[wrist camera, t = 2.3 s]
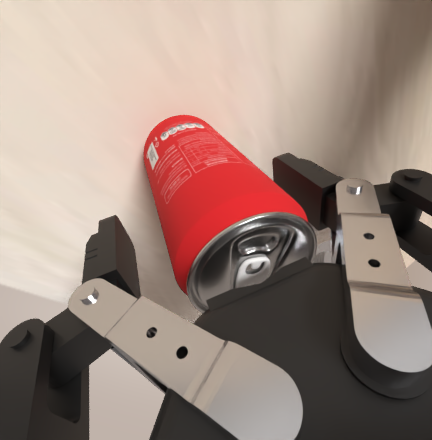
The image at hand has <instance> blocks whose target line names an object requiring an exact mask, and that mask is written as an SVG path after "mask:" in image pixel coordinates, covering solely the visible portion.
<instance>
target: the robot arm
mask: <svg viewBox="0 0 432 440" xmlns="http://www.w3.org/2000/svg"><path fill="white" fill-rule="evenodd" d="M273 177H274V182H275V183H276V184H277V185H278V186H279V187H280V188H282V189H283V190H284V191H285V192H286V193H287V194H288V195H290V196H291V197H292V198H293V199H294V200H295V201H296V202H297V203H298V204H299V205H300V206H301V207H302V208H303V210H304V212H305V214H306V216H307V219H308V222H309V223H310V224H311V225H312V226H313V227H315V228H316V229H317V230H318V231H321V230H323V229H325V228H328V227H329V228H330V229H331V231H330V247H331V263H311V262H310V261H309V260H308V259H307V258H306V257H304V258H301V259H299V260H297V261H295V262H292V263H290V264H288V265H285V266H283V267H281V268H280V269H279V270H278V271H276V272H275V273H274V274H272V275H271V276H270V277H269V278H267V279H266V280H265V281H263V282H262V283H260V284H255V285H250V286H245V287H240V288H235V289H231V290H228V291H226V292H224V293H222V294H219V295H217V296H215V297H212V298H210V299H208V300H206V302H207V305H208V307H209V309H208V310H206V311H205V312H204V313H203V314H202V315H201V316H200V317H199V318H198V319H197V320H196V321H195V323H194V324H193V323H191V322H189V321H187V320H185V319H184V318H182V317H180V316H178V315H177V314H175V313H173V312H171V311H169V310H168V309H166V308H164V307H162V306H160V305H159V304H157V303H155V302H153V301H152V300H150V299H148V298H146V297H144V296H141V294H140V286H139V278H138V271H137V263H136V255H135V249H134V246H133V243H132V241H131V239H130V237H129V236H128V234H127V232H126V230H125V229H124V227H123V225H122V223H121V222H120V220H119V218H118V217H117V216H116V215H114V216H111V217H108V218H106V219H103V220H100V221H99V228H98V233H96V234H94V235H92V236H91V237H90V239H89V241H88V242H87V244H86V251H85V253H86V254H85V261H84V270H83V279H82V285H81V286H79V287H78V288H77V289H76V290H75V291H74V292H73V294H72V295H71V297H70V299H69V302H68V308H67V309H66V310H64V311H63V312H61V313H60V314H59V315H57V316H55V317H54V318H52V319H51V320H49V321H48V322H46V323H44V322H43V321H41V320H40V319H30V320H27V321H24V322H23V323H21V324H19V325H17V326H16V327H15V328H13V330H11V331H10V332H9V333H8V334H7V335H6V336H5V338H4V339H3V340H2V342H1V343H0V440H89V365H90V364H91V363H92V362H94V361H95V360H96V359H98V358H99V357H100V356H101V355H102V354H104V353H105V352H106V351H107V350H109V349H111V350H113V351H114V352H115V353H116V354H118V355H119V356H120V357H121V358H123V359H124V360H125V361H126V362H128V363H129V364H130V365H131V366H132V367H134V368H135V369H136V370H138V371H139V372H140V373H141V374H142V375H143V376H144V377H146V378H147V379H148V380H149V381H150V382H151V383H153V384H154V385H155V386H156V387H157V388H158V389H160V390H161V391H162V392H163V393H164V394H165V397H164V400H163V403H162V405H161V408H160V411H159V414H158V416H157V419H156V422H155V425H154V428H153V431H152V433H151V436H150V439H149V440H432V292H430V291H427V290H424V289H420V288H417V287H414V286H411V283H410V280H409V276H408V273H407V270H406V267H405V263H404V260H403V257H402V254H401V250H400V248H401V249H402V250H404V251H405V252H406V253H407V254H409V255H410V256H411V257H413V258H414V259H415V260H417V261H418V262H419V263H421V264H422V265H423V266H424V267H426V268H427V269H428V270H430V271H431V272H432V229H431V228H430V227H428V226H427V225H425V224H423V223H422V222H420V221H419V219H420V216H421V214H422V211H424V212H425V213H427V214H429V215H431V216H432V174H429V173H427V172H424V171H421V170H415V169H404V170H399V171H396V172H395V173H393V174H392V177H391V181H390V183H386V184H380V185H374V186H373V185H372V184H371V183H370V182H368V181H366V180H363V179H357V178H349V179H344V180H343V179H341V178H339V177H337V176H336V175H334V174H332V173H331V172H329V171H327V170H324V168H322V167H320V166H318V165H317V164H315V163H313V162H312V161H309V160H305V159H301V158H300V159H299V158H297V157H295V156H294V155H292V154H290V153H286V154H283V155H280V156H277V157H275V158H274V159H273Z"/></svg>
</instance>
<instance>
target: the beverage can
mask: <svg viewBox="0 0 432 440" xmlns="http://www.w3.org/2000/svg"><path fill="white" fill-rule="evenodd" d="M144 163H145V167H146V170H147V174H148V178H149V182H150V185H151V189H152V193H153V197H154V200H155V204H156V208H157V212H158V215H159V219H160V223H161V226H162V230H163V234H164V238H165V241H166V245H167V249H168V253H169V256H170V260H171V264H172V268H173V271H174V275H175V279H176V281H177V283H178V285H179V287H180V288H181V290H182V291H183V292H184V293H185V294H186V295H187V296H188V297H189V299H190V301H191V303H192V304H193V306H194V307H195V308H196V309H197V310H199V311H200V312H202V313H204V312H205V311H206V310H208V309H209V307H208V305H207V302H206V300H208V299H210V298H212V297H215V296H217V295H219V294H222V293H224V292H226V291H228V290H231V289H235V288H240V287H245V286H250V285H255V284H260V283H262V282H263V281H265V280H266V279H267V278H269V277H270V276H271V275H272V274H274V273H275V272H276V271H278V270H279V269H280V268H281V267H283V266H285V265H288V264H290V263H292V262H295V261H297V260H299V259H301V258H304V257H306V258H307V259H308V260H309V261H310V262H311V263H313V261H314V258H315V255H316V251H317V238H316V234H315V232H314V230H313V228H312V227H311V225H310V224H309V223H308V219H307V216H306V214H305V212H304V210H303V208H302V207H301V206H300V205H299V204H298V203H297V202H296V201H295V200H294V199H293V198H292V197H291V196H290V195H288V194H287V193H286V192H285V191H284V190H283V189H282V188H280V187H279V186H278V185H277V184H276V183H275V182H274V181H272V180H271V179H270V178H269V177H268V176H267V175H266V174H264V173H263V172H262V171H261V170H260V169H259V168H258V167H257V166H255V165H254V164H253V163H252V162H251V161H250V160H249V159H247V158H246V157H245V156H244V155H243V154H242V153H241V152H239V151H238V150H237V149H236V148H235V147H234V146H233V145H231V144H230V143H229V142H228V141H227V140H226V139H225V138H223V137H222V136H221V135H220V134H219V133H218V132H217V131H216V130H214V129H213V128H212V127H211V126H210V125H209V124H207V123H206V122H205V121H203V120H201V119H199V118H197V117H194V116H190V115H178V116H173V117H170V118H168V119H165V120H164V121H162V122H160V123H159V124H158V125H157V126H156V127H155V128H154V129H153V130H152V131H151V133H150V134H149V136H148V138H147V140H146V143H145V146H144Z"/></svg>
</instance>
